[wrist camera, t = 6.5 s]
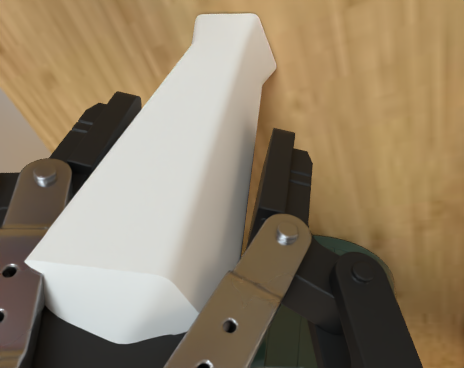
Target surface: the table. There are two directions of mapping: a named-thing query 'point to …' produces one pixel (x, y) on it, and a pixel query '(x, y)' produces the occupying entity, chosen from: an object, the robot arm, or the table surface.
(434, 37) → the table surface
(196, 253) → the perfume bottle
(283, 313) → the teal plastic cup
